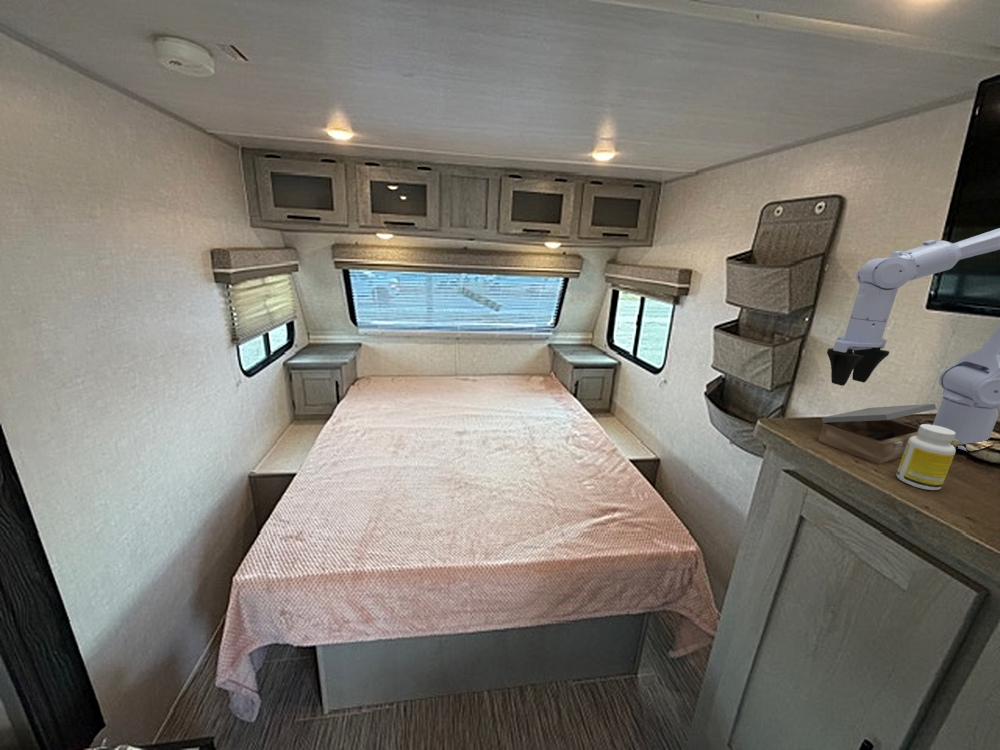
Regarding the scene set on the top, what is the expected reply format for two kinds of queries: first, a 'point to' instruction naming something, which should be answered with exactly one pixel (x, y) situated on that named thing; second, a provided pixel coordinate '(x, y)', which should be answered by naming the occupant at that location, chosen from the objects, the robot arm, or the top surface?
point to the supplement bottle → (927, 457)
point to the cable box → (869, 438)
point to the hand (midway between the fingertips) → (848, 382)
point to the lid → (879, 413)
